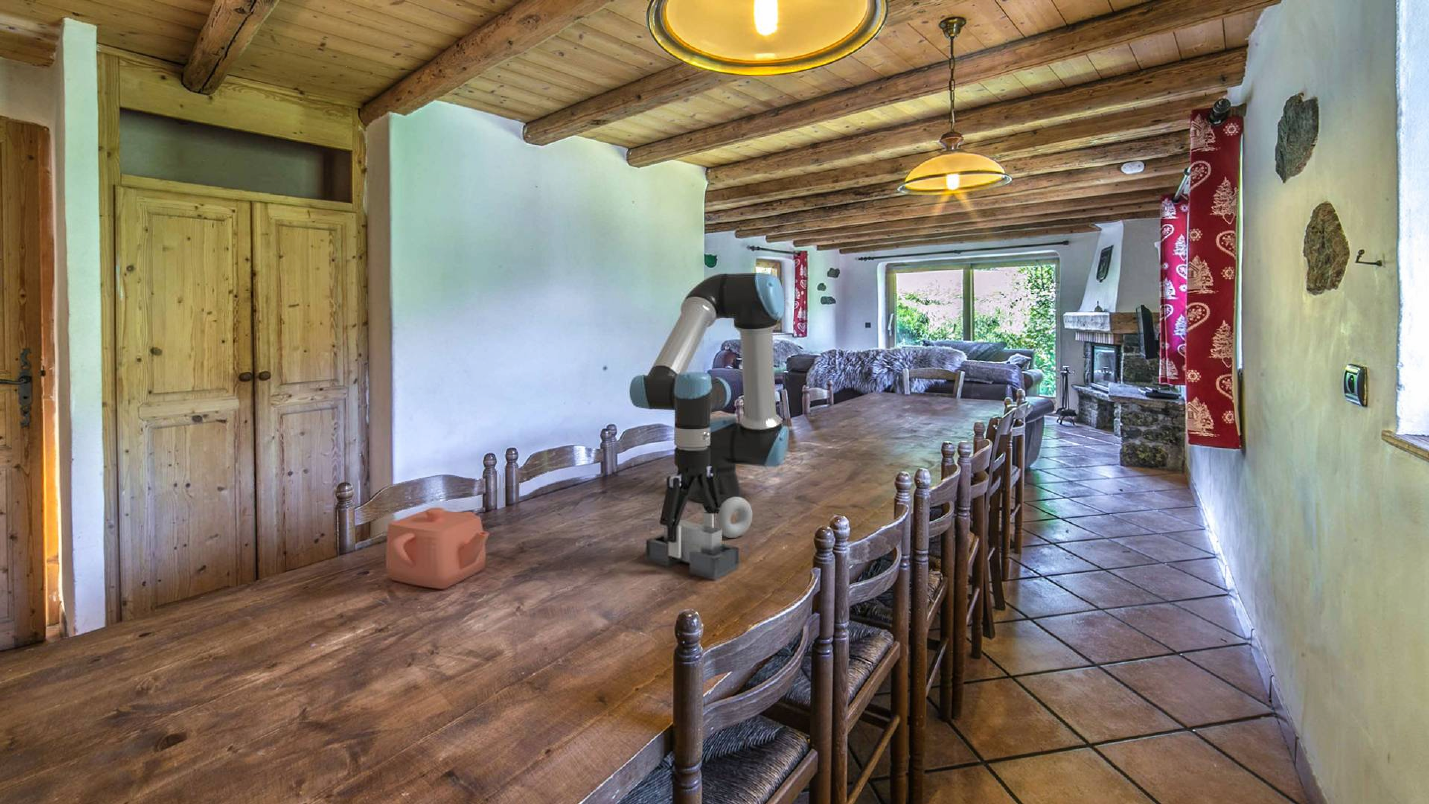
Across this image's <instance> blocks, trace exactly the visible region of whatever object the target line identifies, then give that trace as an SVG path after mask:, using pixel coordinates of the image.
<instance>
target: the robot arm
mask: <svg viewBox="0 0 1429 804" xmlns="http://www.w3.org/2000/svg"><path fill="white" fill-rule="evenodd" d="M783 289H784V288H783V285H782V283H781V281H780V279H779V278H778V277H777V276H776V275H775V274H773V273H763V272H762V273H761V272H749V273H747V272H745V273H743V272H742V273H718V274H714V275H711V276H709V277H707V278H705V279H704V280H703V281H701V282H700V283H698V284H697V285H696V286H694V288H693V289H691V290H690V291H689V292H688V294H687V295H686V296H685V298H684V299H683V302H682V304H681V306H680V313H681V314H680V315H679V316H678V319H677V321H676V323H675V325H674V326H673V328H672V330H671V332H670V334H669V335H668V337H667V339H666V341H665V343H664V344H663V346H662V348H661V350H660V352H659V354H658V356H657V358H656V359H655V361H654V363H653V364H652V367H651V369H650V370H649V372H648V374H647V375H646V374H639V375H636V376H634V377H633V378H632V380H631V382H630V385H629V398H630V400H631V403H632V405H633V406H634V407H635V408H641V409H645V410H647V409H648V410H665V411H666V410H667V411H674V431H673V433H674V434H673V435H674V436H673V437H674V440H673V441H674V442H673V443H674V446H675V448H674V452H673V453H674V454H673V455H674V465H675V466H676V467H677V472H676V475H674V476H670V475H668V476H667V477H666V489H665V494H664V495H665V496H664V499H663V504H662V505H663V506H662V510H661V514H660V519H659V525H662V526H664V525H665V526H667V534H668V535H667V536H668V537H667V540H668V542H669V556H673V557H676V558H680V557H681V526H678V525H679V522H680V519H681V520H682V516H683V513H684V511H685V508H686V505H687V502H688V499H691V500H692V501H694V502H697V503H701V505H702V507H703V509H704V511H703V512H701V525H705V526H709V527H713V528H715V524H716V523H715V522H716V515H717V514H718V513H719V508H721V505H722V503H723V502H725V501H726V500H727V499H729V498H732V497H741V498H742V489H741V486H740V483H739V478H738V475H737V472H736V467H737V465H745V466H754V467H755V466H756V467H764V468H767V467H769V468H778V467H779V466H780V465H782V463H783V462H784V460H785V458H786V457H785V456H786V455H787V450H788V445H789V438H790V429H789V427H788V426H786V425H783V422H782V417H781V416H780V415H779V414H777V410H776V389H775V387H776V384H775V363H774V362H775V360H774V339H773V338H774V337H773V336H774V335H773V331H774V329H775V328H776V327H777V326H778V325H779V321H778V320H780V319H782V318H783V317H784V313H785V296H784V290H783ZM718 319H733V327H734V328H735V329H736V330H737V331H738V332H739V337H740V353H741V355H740V356H741V368H742V369H741V370H742V372H741V373H742V387H743V401H744V402H743V404H744V405H743V406H744V415H743V416H742V417H741V418H740V420H739V423H738V420H737V418H736V417H734V416H722V417H720V416H719V417H714V418H713V417H712V413H717V412H718V411H719V412H720V411H721V410H723V408H725V407H726V406H727V405H728V404H729V402H730V400H731V398H732V397H731V396H732V391H731V386H730V384H729V383H728V382H727V381H726V380H725V379H724V378H721V377H718V376H714V377H713V376H711V375H710V374H709V373H707V372H701V371H700V372H699V371H689V372H687V369H688V367H689V365H690V364H691V361H692V359H693V358H694V356H695V354H696V351H697V349H698V348H699V345H700V343H701V341H702V340H703V337H704V335H705V333H706V331H707V329H708V328H709V327H711V326H713V324H714V323H715V322H716V320H718ZM673 520H674V521H673Z"/></svg>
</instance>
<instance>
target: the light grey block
mask: <svg viewBox="0 0 1429 804" xmlns="http://www.w3.org/2000/svg"><path fill="white" fill-rule="evenodd" d="M673 521H674V520H673ZM678 526H681V557H680V558H676V557H673V558H675V559H678V560H682V561H681V562H685V563H689V564H690V552H691V551H697V552H700V553H704V554H708V555H711V556H716V555H718V554H720V553H722V544H723V534H722V530H721V529H718V527H717V528H716V527H714V528H713V527H709V526H705V525H702V523H701V524H700V523H696V522H692V521H688V520H684V519H682V518H681V519H680V522H679V525H678ZM663 534H664V543H668V544H669V542H668V540H667V537H668V536H667V535H668V534H667V526H665V525H663Z"/></svg>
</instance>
